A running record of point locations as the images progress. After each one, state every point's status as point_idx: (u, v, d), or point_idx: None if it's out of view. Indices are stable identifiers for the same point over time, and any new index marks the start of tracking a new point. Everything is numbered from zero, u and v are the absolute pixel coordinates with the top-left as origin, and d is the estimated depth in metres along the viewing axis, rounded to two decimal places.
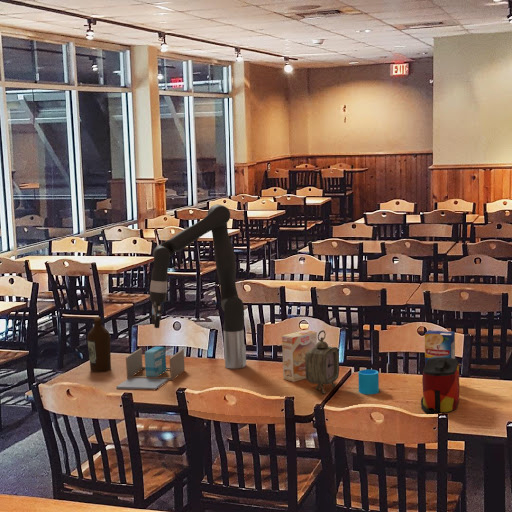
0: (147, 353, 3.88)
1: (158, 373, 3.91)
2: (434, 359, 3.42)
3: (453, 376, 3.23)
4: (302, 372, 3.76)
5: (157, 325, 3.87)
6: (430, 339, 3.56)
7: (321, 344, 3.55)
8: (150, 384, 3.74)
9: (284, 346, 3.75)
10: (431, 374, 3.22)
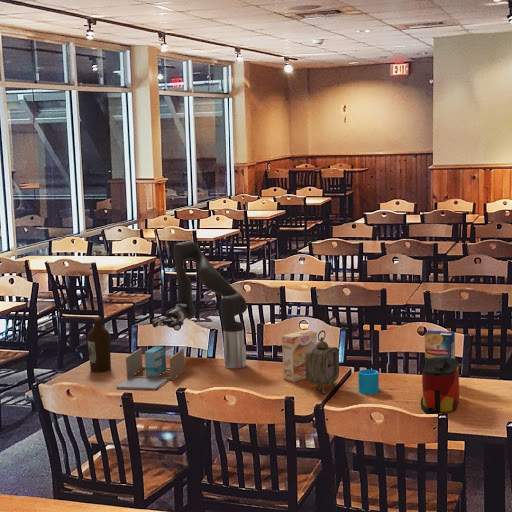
0: (147, 353, 3.88)
1: (158, 373, 3.91)
2: (434, 359, 3.42)
3: (453, 376, 3.23)
4: (302, 372, 3.76)
5: None
6: (430, 339, 3.56)
7: (321, 344, 3.55)
8: (150, 384, 3.74)
9: (284, 346, 3.75)
10: (431, 374, 3.22)
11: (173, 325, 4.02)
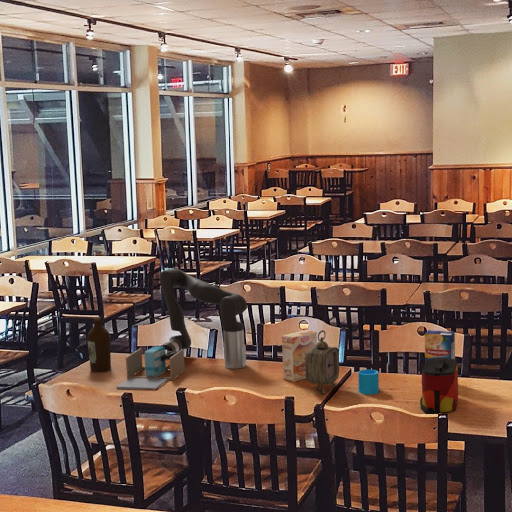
0: (147, 353, 3.88)
1: (158, 373, 3.91)
2: (433, 359, 3.42)
3: (452, 376, 3.23)
4: (302, 372, 3.76)
5: None
6: (430, 339, 3.56)
7: (321, 344, 3.55)
8: (150, 384, 3.74)
9: (284, 346, 3.75)
10: (430, 374, 3.22)
11: (163, 358, 3.93)
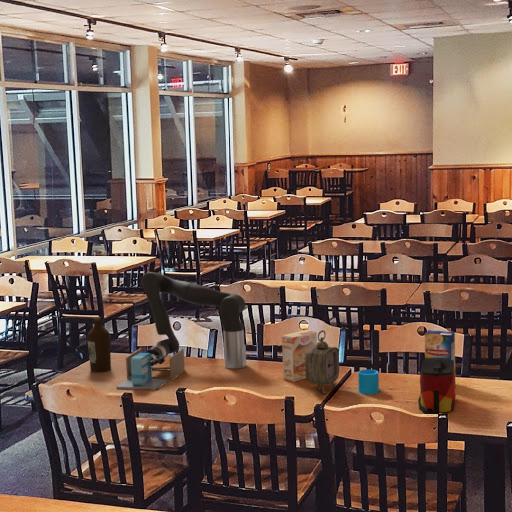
0: (133, 360, 3.72)
1: (145, 380, 3.76)
2: (429, 359, 3.42)
3: (451, 376, 3.22)
4: (302, 372, 3.76)
5: None
6: (430, 339, 3.56)
7: (321, 344, 3.55)
8: (150, 384, 3.74)
9: (284, 346, 3.75)
10: (430, 375, 3.21)
11: (153, 363, 3.77)
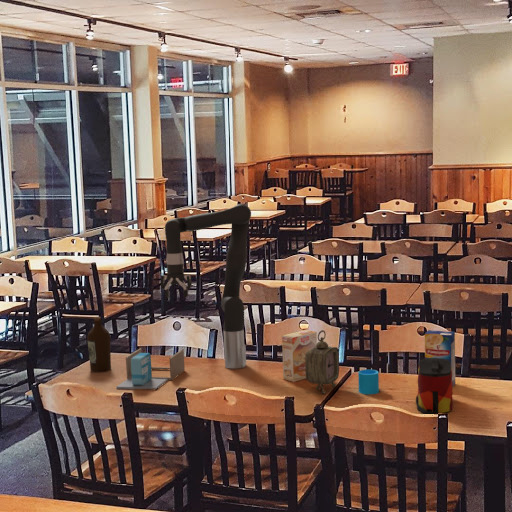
0: (133, 360, 3.72)
1: (145, 380, 3.76)
2: (425, 360, 3.41)
3: (450, 376, 3.22)
4: (302, 372, 3.76)
5: (187, 294, 3.99)
6: (430, 339, 3.56)
7: (321, 344, 3.55)
8: (150, 384, 3.74)
9: (284, 346, 3.75)
10: (428, 375, 3.21)
11: None
